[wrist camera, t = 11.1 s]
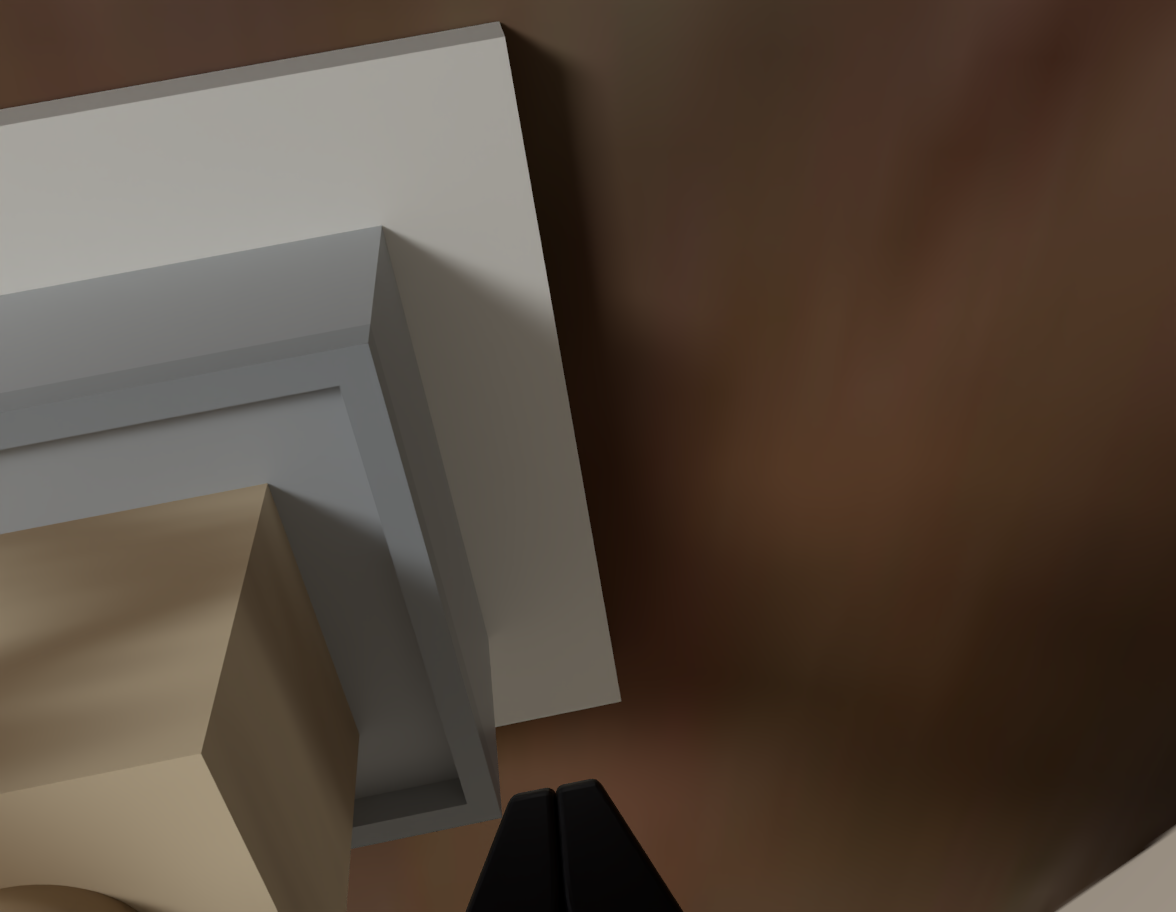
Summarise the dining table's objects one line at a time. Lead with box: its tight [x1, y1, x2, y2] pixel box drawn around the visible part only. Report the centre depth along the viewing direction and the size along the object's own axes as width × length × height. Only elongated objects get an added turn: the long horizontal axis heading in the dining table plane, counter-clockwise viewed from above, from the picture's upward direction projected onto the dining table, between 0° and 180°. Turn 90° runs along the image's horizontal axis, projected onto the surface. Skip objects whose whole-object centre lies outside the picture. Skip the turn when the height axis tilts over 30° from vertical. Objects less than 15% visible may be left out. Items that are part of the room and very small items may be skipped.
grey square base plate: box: [0, 22, 621, 849], centre depth 18 cm, size 14×14×6 cm
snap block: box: [0, 483, 359, 912], centre depth 13 cm, size 5×5×6 cm
